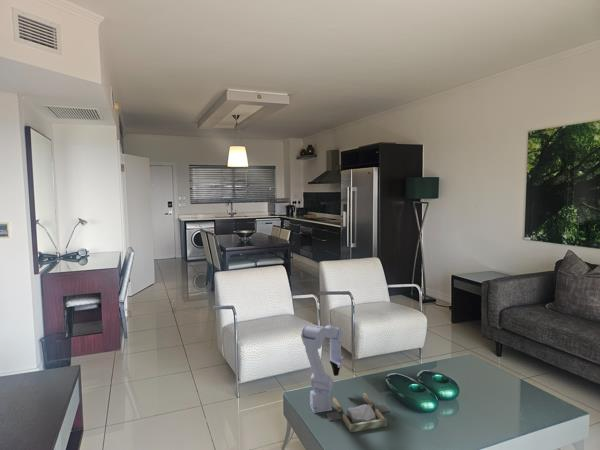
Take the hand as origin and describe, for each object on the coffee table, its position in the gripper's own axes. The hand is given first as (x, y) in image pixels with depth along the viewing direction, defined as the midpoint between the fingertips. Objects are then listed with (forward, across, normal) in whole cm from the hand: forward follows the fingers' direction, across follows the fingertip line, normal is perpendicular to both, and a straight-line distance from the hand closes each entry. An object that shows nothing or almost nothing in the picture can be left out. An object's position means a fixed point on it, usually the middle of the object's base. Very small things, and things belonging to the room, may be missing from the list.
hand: (336, 375), depth 206 cm
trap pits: (+9, -21, -4) cm, 23 cm away
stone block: (+10, -25, -4) cm, 28 cm away
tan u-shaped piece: (+9, -21, -4) cm, 23 cm away
